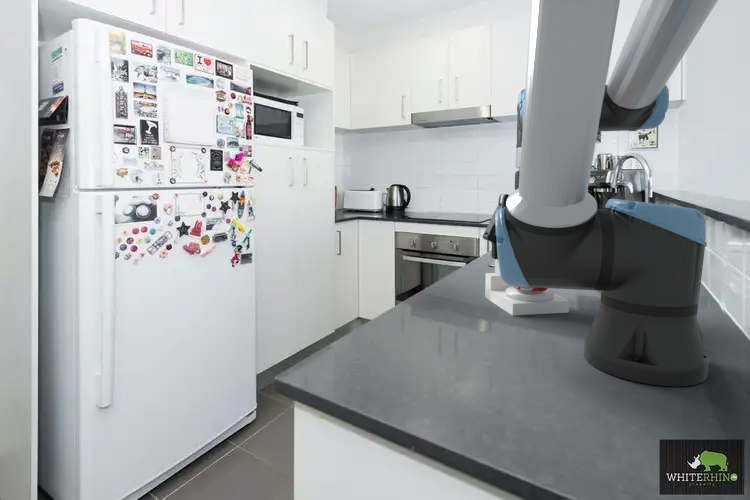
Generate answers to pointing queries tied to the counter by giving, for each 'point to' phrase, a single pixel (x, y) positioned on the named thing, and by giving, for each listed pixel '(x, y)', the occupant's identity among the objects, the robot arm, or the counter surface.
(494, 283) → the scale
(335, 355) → the counter surface
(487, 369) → the counter surface
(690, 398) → the counter surface
